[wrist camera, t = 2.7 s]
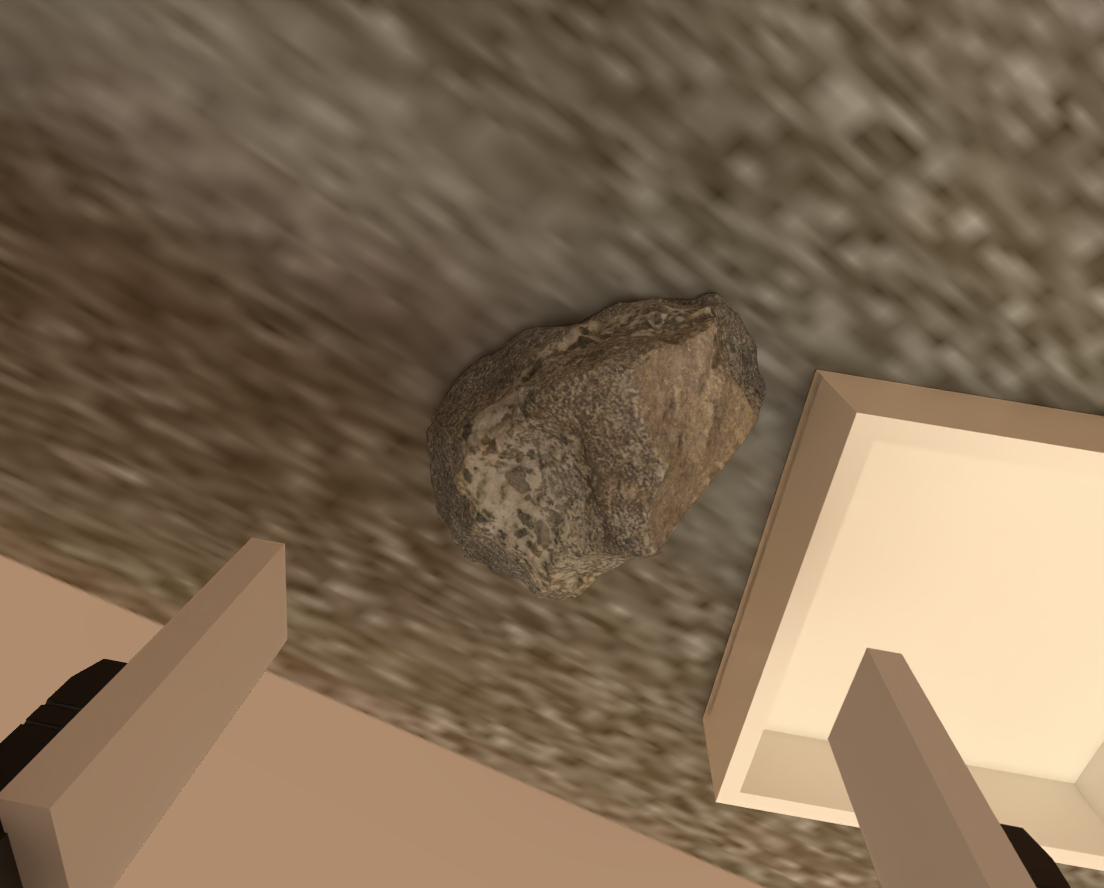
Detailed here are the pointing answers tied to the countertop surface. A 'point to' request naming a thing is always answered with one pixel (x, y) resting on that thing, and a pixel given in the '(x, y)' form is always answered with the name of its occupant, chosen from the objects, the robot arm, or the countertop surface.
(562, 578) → the rock
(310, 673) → the countertop surface
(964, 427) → the dish
